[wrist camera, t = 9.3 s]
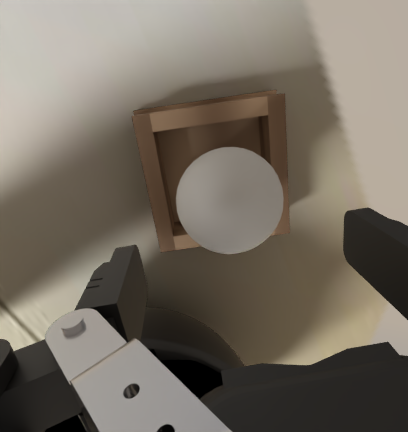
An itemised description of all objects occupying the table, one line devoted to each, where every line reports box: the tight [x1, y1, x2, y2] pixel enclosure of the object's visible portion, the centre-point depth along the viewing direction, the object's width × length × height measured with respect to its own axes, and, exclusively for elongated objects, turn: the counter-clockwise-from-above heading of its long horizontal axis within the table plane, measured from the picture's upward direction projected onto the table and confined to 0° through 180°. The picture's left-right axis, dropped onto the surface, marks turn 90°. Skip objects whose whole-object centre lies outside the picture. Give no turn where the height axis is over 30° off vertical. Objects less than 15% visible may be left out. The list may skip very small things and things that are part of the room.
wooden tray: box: [132, 90, 290, 252], centre depth 24 cm, size 11×11×4 cm
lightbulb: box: [176, 147, 284, 254], centre depth 20 cm, size 6×6×11 cm
